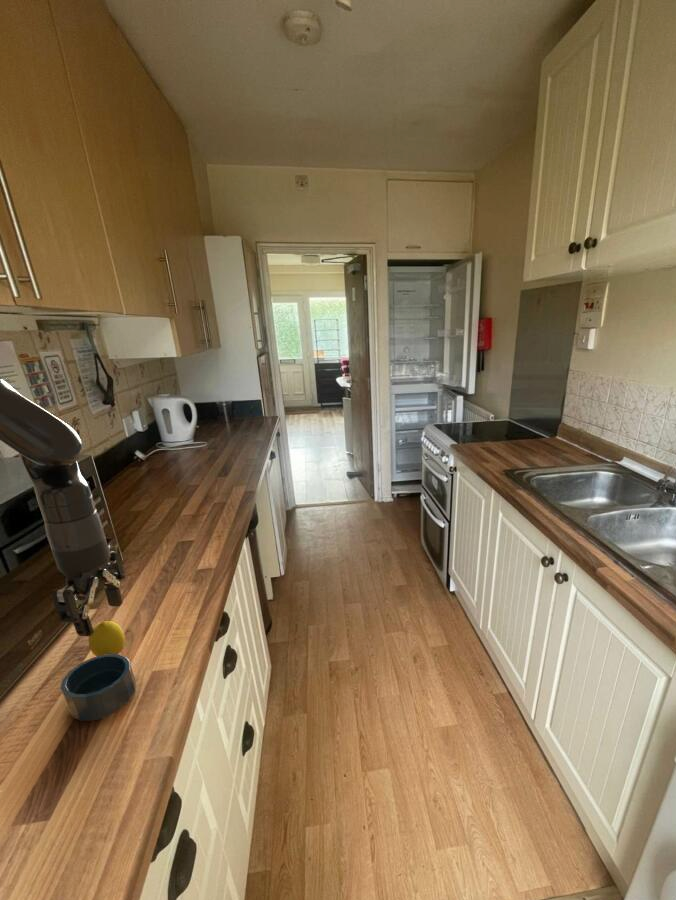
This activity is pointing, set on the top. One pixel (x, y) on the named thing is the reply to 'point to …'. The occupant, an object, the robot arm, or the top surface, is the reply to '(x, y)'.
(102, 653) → the lemon
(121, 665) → the bowl
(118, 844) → the top surface
